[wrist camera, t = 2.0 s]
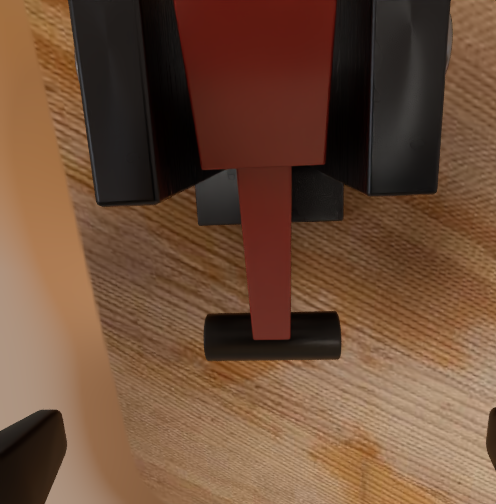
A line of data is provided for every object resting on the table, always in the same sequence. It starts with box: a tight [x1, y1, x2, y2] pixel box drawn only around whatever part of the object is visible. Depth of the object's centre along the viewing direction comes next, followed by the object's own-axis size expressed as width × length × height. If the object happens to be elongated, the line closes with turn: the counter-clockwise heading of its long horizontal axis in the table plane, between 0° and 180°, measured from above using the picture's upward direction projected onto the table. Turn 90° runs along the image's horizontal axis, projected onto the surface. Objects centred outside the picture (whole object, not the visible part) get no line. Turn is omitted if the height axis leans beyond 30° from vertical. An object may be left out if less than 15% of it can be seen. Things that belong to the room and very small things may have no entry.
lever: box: [173, 0, 341, 361], centre depth 10 cm, size 10×4×2 cm, turn 3°
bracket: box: [68, 0, 453, 226], centre depth 11 cm, size 9×6×12 cm, turn 3°
